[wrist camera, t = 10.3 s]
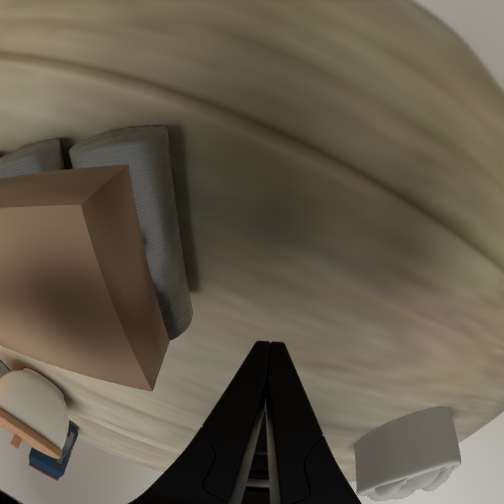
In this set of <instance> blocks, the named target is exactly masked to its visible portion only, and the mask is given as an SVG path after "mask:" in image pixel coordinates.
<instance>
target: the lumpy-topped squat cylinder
mask: <svg viewBox="0 0 504 504" xmlns="http://www.w3.org/2000/svg"><path fill="white" fill-rule="evenodd" d="M355 460H356V483H357V495H360V496H367V497H369V498H370V499H372V500H375V501H386V500H391V499H402V498H406V497H408V496H409V495H411V494H412V493H413V492H414V491H415V490H417V489H422V490H424V491H432V490H435V489H436V488H438V487H439V486H440V485H441V484H443V483H444V482H445V481H446V480H447V479H448V478H449V476H450V474H451V473H452V471H454V470H455V469H457V468H458V467H459V466H460V464H461V457H460V451H459V445H458V440H457V435H456V431H455V426H454V422H453V418H452V414H451V410H450V408H449V407H444V406H442V407H434V408H430V409H426V410H422V411H419V412H416V413H413V414H410V415H407V416H404V417H402V418H399V419H396V420H394V421H391V422H389V423H386V424H384V425H383V426H381V427H379V428H377V429H376V430H374V431H372V432H370V433H369V434H367V435H366V436H364V437H363V438H361V439H360V440H358V441H357V442H356V443H355Z"/></svg>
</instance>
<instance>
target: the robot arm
mask: <svg viewBox="0 0 504 504" xmlns="http://www.w3.org/2000/svg"><path fill="white" fill-rule="evenodd" d="M269 354H270V355H269ZM266 392H267V393H266ZM265 402H266V412H264V409H265ZM202 426H203V427H201V428H200V429H199V431H198V432H197V434H196V435H195V437H194V438H193V439H192V441H191V442H190V444H189V445H188V446H187V448H186V449H185V450H184V451H183V452H182V454H181V455H180V456H179V457H178V458H177V459H176V461H175V462H174V463H173V464H172V465H171V466H170V467H169V468H168V469H167V470H166V471H165V472H164V473H163V474H162V475H161V476H160V477H159V478H158V479H157V480H156V481H155V483H153V484H152V485H151V486H150V487H149V488H148V489H147V490H146V491H145V492H144V493H143V494H142V495H140V496H139V497H138V498H137V499H135V500H133V501H132V502H130V503H128V504H362V503H361V502H360V500H359V499H358V497H357V495H356V494H355V493H354V491H353V489H352V488H351V486H350V485H349V483H348V481H347V480H346V478H345V476H344V475H343V473H342V471H341V470H340V468H339V466H338V464H337V463H336V461H335V459H334V457H333V455H332V452H331V450H330V448H329V446H328V444H327V441H326V439H325V437H324V436H322V435H323V432H322V430H321V428H320V425H319V423H318V421H317V418H316V416H315V414H314V411H313V409H312V407H311V404H310V402H309V400H308V397H307V395H306V392H305V390H304V388H303V385H302V383H301V381H300V378H299V376H298V374H297V371H296V369H295V367H294V364H293V362H292V359H291V357H290V355H289V352H288V350H287V348H286V345H285V344H284V343H283V342H274V341H273V342H271V343H270V342H269V341H256V343H255V344H254V346H253V347H252V349H251V351H250V352H249V354H248V355H247V357H246V359H245V360H244V362H243V363H242V365H241V367H240V368H239V370H238V371H237V373H236V374H235V376H234V378H233V379H232V381H231V382H230V384H229V385H228V387H227V389H226V390H225V392H224V393H223V395H222V396H221V398H220V399H219V401H218V402H217V404H216V406H215V407H214V409H213V410H212V412H211V413H210V415H209V416H208V418H207V419H206V421H205V422H204V424H203V425H202ZM0 504H23V503H21V502H20V501H18V500H16V499H15V498H14V497H12V496H10V495H8V494H7V493H5V492H4V491H2V490H0Z"/></svg>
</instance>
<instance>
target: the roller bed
mask: <svg viewBox="0 0 504 504" xmlns="http://www.w3.org/2000/svg"><path fill="white" fill-rule="evenodd" d="M69 154H70V159H71V164H72V168H73V169H77V168H88V167H100V166H113V165H128V164H129V171H130V177H131V183H132V188H133V194H134V199H135V205H136V210H137V215H138V220H139V225H140V230H141V234H142V239H143V243H144V248H145V252H146V257H147V261H148V265H149V269H150V273H151V277H152V281H153V285H154V289H155V293H156V296H157V300H158V304H159V307H160V311H161V315H162V318H163V321H164V325H165V328H166V332H167V335H168V338H169V341H170V340H172V339H175V338H176V337H178V336H179V335H181V334H182V333H183V332H184V331H185V330H186V329H187V328H188V326H189V325H190V323H191V320H192V316H193V310H192V305H191V299H190V294H189V288H188V282H187V276H186V270H185V264H184V258H183V251H182V245H181V238H180V231H179V224H178V217H177V210H176V202H175V194H174V186H173V177H172V168H171V159H170V149H169V138H168V129H167V128H166V127H163V126H154V125H148V126H135V127H128V128H122V129H117V130H113V131H109V132H105V133H102V134H99V135H96V136H93V137H90V138H88V139H85V140H83V141H81V142H79V143H77V144H75V145H74V146H73V147H71V148H70V150H69ZM58 170H65V166H64V162H63V157H62V152H61V147H60V141H59V139H49V140H44V141H40V142H37V143H33V144H30V145H28V146H25V147H22V148H20V149H18V150H15V151H13V152H11V153H9V154H7V155H5V156H3V157H1V158H0V179H2V178H8V177H14V176H20V175H27V174H34V173H42V172H50V171H58Z"/></svg>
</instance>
